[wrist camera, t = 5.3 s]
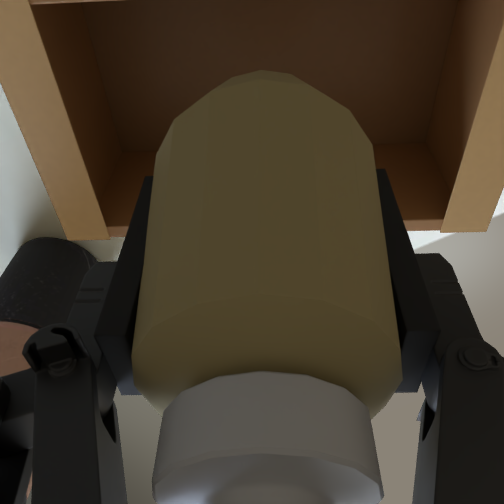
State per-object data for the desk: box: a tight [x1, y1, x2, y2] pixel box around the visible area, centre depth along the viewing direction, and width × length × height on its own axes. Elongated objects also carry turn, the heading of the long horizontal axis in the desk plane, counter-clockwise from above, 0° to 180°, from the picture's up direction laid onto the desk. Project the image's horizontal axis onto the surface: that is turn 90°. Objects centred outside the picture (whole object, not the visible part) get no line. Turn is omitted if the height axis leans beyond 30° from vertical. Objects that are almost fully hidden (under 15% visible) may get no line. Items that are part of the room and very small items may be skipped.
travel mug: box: [0, 238, 97, 504], centre depth 31 cm, size 8×8×20 cm
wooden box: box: [0, 0, 504, 240], centre depth 24 cm, size 13×23×8 cm, turn 93°
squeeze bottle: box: [131, 70, 403, 504], centre depth 13 cm, size 8×8×18 cm
